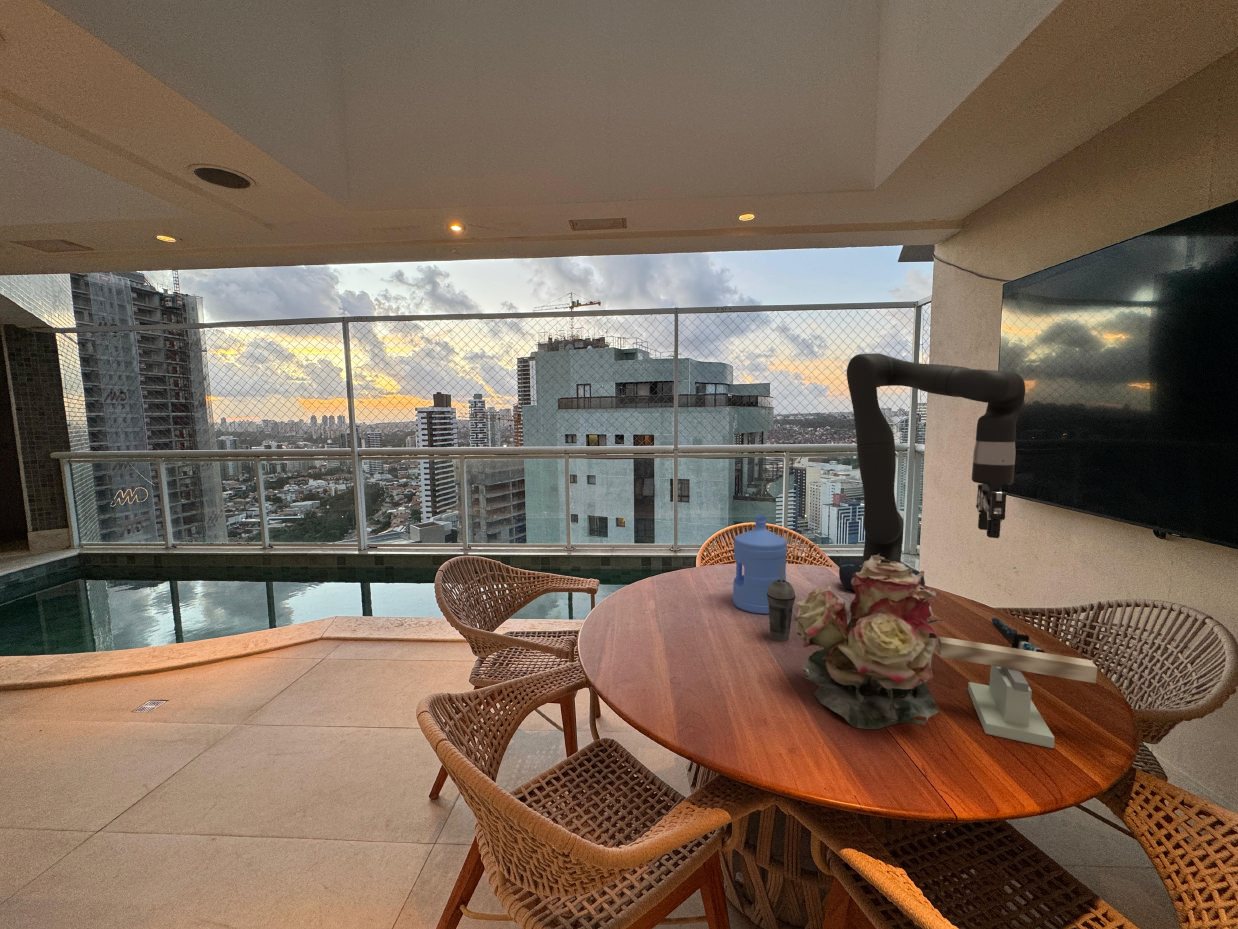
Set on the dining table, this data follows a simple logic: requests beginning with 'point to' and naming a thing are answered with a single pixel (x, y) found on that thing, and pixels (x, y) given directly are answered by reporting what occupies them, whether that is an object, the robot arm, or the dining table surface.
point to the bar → (1018, 659)
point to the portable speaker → (854, 567)
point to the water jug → (757, 566)
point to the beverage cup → (780, 608)
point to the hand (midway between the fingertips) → (988, 533)
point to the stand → (1009, 708)
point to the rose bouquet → (872, 646)
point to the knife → (1015, 637)
